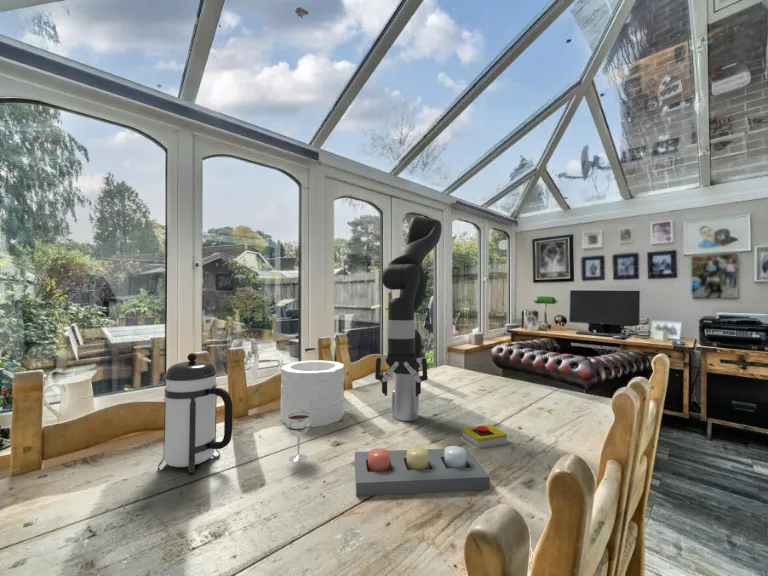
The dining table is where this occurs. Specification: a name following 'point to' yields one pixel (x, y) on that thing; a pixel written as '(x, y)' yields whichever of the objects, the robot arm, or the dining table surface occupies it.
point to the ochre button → (417, 458)
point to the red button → (378, 460)
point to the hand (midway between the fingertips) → (401, 395)
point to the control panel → (418, 475)
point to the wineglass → (298, 430)
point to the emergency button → (484, 436)
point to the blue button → (455, 457)
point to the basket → (313, 390)
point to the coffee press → (193, 414)
